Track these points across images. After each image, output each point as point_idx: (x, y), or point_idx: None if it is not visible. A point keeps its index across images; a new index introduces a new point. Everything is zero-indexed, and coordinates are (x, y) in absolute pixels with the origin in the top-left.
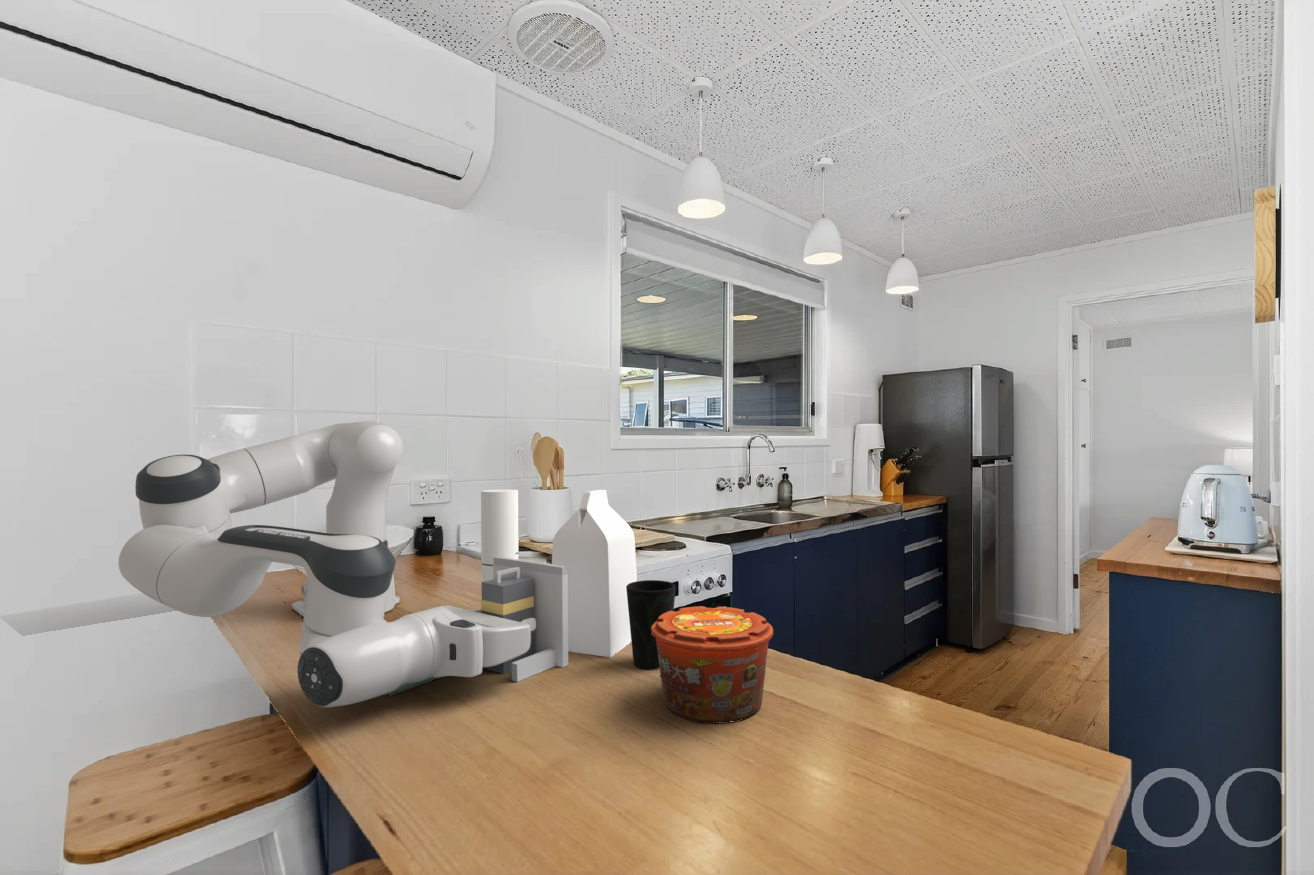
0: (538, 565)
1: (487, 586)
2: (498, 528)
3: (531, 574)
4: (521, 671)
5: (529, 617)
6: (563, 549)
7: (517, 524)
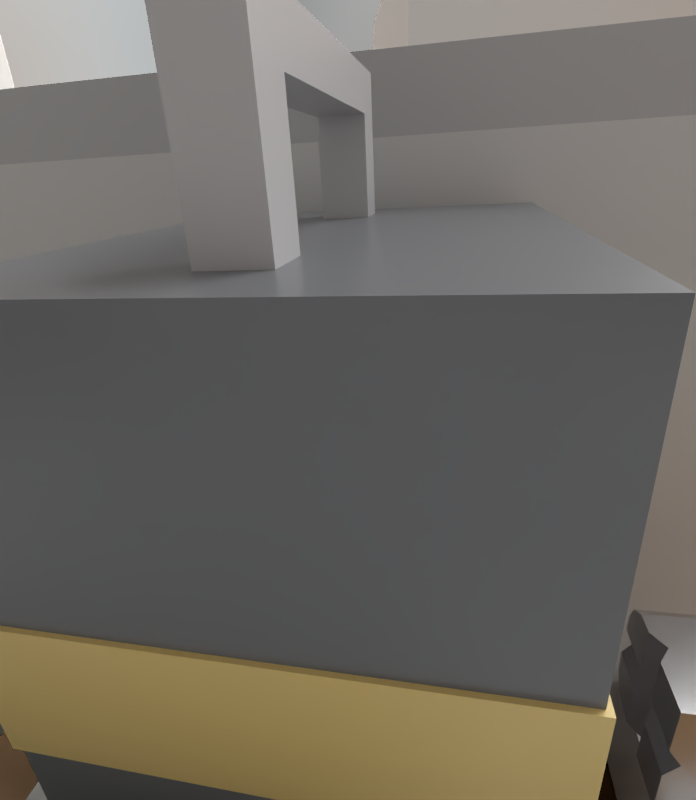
0: (558, 50)
1: (25, 379)
2: None
3: (444, 176)
4: None
5: (687, 621)
6: (497, 25)
7: (11, 78)
